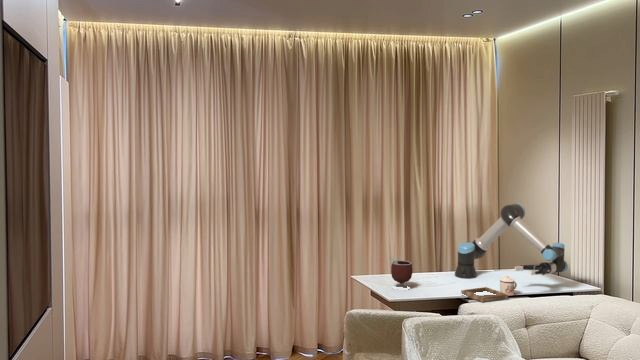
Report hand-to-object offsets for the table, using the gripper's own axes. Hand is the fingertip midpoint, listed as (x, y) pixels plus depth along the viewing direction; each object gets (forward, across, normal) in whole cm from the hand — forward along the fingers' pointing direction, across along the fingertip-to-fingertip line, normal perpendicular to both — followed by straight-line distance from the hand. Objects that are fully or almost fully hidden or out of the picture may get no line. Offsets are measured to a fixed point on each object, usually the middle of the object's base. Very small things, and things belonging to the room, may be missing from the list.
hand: (522, 270), depth 388 cm
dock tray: (+31, +1, -14) cm, 34 cm away
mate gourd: (+67, +41, -13) cm, 79 cm away
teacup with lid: (+11, +1, -14) cm, 18 cm away
